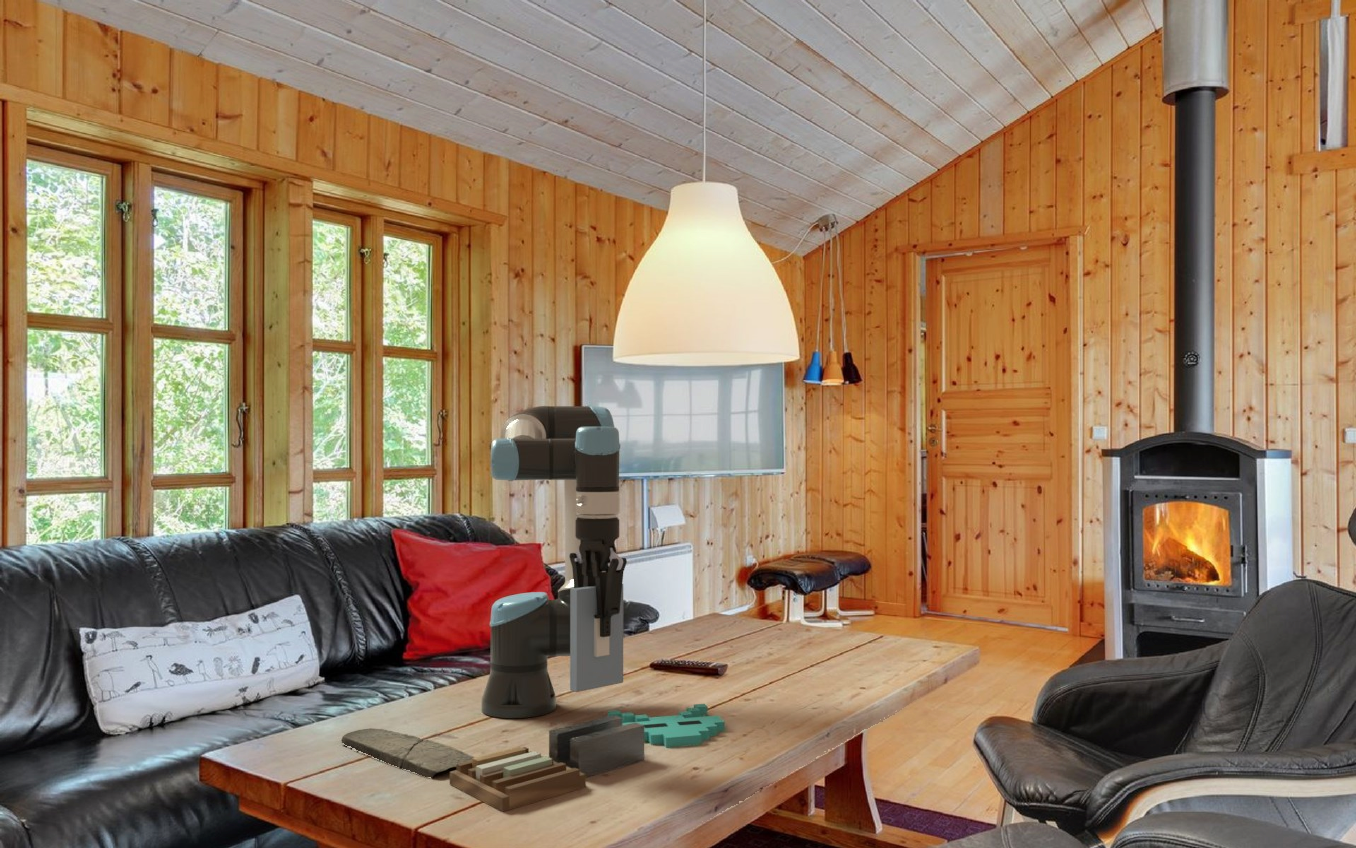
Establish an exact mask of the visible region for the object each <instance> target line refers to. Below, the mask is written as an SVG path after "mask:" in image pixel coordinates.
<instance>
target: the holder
mask: <svg viewBox="0 0 1356 848" xmlns="http://www.w3.org/2000/svg"><path fill="white" fill-rule="evenodd" d="M548 757H550V758H553V761H555V762H557V763H561V762H562V763H565V764H566V766H567V767H569V768H572V769H573V768H577V769H579V770H580V772H581V773H584V774H586V778H589V777H591V776H595V775H599V774H602V773H605V772H608V771H612V770H615V769H620V768H623V767H626V766H630V765H634V764H637V763H639V762H645V742H644V725H642V724H639V723H636V722H635V723H631V724H627V725H623V726H622V718H621V717H618V716H615V715H613V716H609V717H608V716H606V717H601V718H597V719H593V720H592V719H591V720H589V721H584V722H581V723H576V724H572V725H567V726H563V727H560V728H556V729H551V730H548Z"/></svg>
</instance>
